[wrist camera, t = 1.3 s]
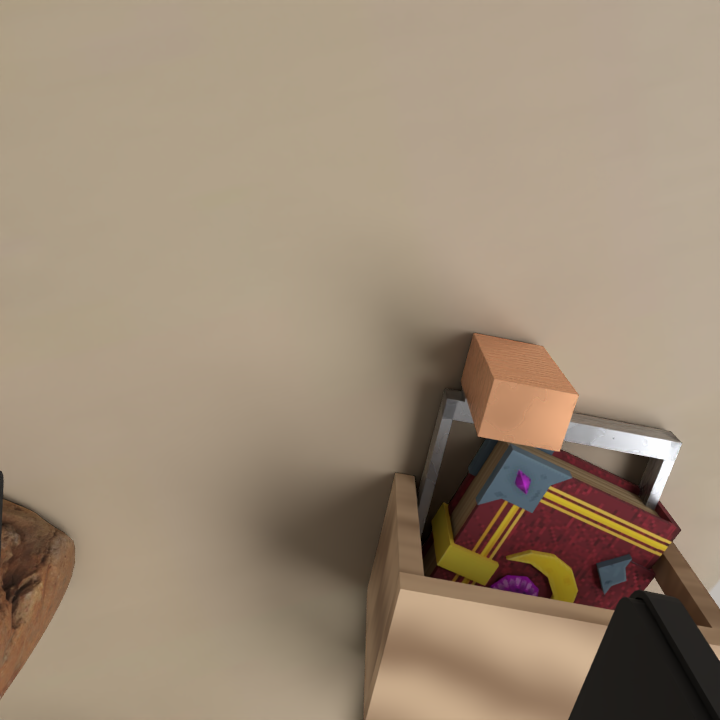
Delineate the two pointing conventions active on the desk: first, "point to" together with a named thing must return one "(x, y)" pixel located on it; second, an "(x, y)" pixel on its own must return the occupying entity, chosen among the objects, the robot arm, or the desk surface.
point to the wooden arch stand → (484, 635)
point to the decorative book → (547, 528)
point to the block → (29, 584)
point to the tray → (535, 415)
